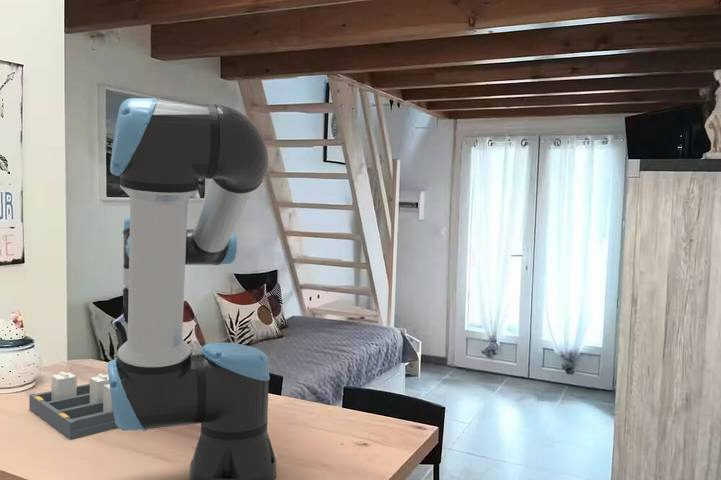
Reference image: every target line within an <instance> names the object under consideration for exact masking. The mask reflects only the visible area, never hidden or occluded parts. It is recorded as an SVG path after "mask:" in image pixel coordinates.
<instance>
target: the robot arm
mask: <svg viewBox="0 0 721 480" xmlns="http://www.w3.org/2000/svg"><path fill="white" fill-rule="evenodd" d="M116 117H117V118H116V123H115V129H114V133H113V141H112V148H111V158H110V165H109V167H110V168H109V171H110V173H111V175H114V176H116V177H119V188H121V190H122V191H124V192H125V194H126V195H127V196H129V203H130V204H129V206H130V208H129V217H126V218H125V219H124V221H123V231H122V234H123V245H122V247H123V268H122V270H123V271H122V272H123V274H122V275H123V277H122V283H123V285H122V286H124V287H123V289H122V306H123V308H122V310H121V314H120V316H118V317H117V318H116V319H112V320H111V321H110V325H111V326H112V328H113V329H114V330H115V335H116V339H117V344H118V347H119V348H118V349H117V355H116V356H117V359H113V360H110V361H108V363H107V373H108V374H107V375H109V382H110V391H111V400H112V407H113V413H114V419H115V423H116V425H117V427H118V428H117V429H120V430H121V431H124V432H125V431H127V432H128V431H143V432H144V431H148V430H151V429H152V430H153V429H161V428H169V427H179V426H186V425H195V424H196V425H197V424H200V436H199V438H198V441H197V444H196V447H195V450H194V454H193V457H192V459H191V462H190V465H189V480H272V479H273V478H274V477H275V478H276V475H277V459H276V456H275V452H274V449H273V446H272V442H271V440H270V436H269V433H268V412H269V381H270V380H271V377H270V371H269V370H270V367H269V358H268V356H267V354H266V353H265V352H264V351H262V350H260V349H259V348H256V347H253V346H249V345H246V344H243V343H242V344H240V343H233V342H212V343H205V344H204V345H203V346H202V348H201V350H200V353H201V354H192V347H191V346H190V344H188V343H187V342H186V341H185V340H184V339H183V326H184V303H185V299H184V298H185V283H186V282H185V278H186V277H185V275H186V265H187V266H189V265H191V266H194V265H195V266H196V265H197V266H198V265H199V266H200V265H201V266H202V265H205V266H206V265H207V266H208V265H209V266H219V265H229V264H233V263H234V261H236V256H237V252H238V242H237V236H236V232H235V230H236V227H237V225H238V223H239V220H240V218H241V215H242V213H243V212H244V209H245V207H246V204H247V202H248V201H249V198H250V196H251V193H252V192H254V191H256V190H257V189H258V188H259V187H260V186H261V185H262V183H263V181H264V179H265V178H266V177H265V176H266V174H267V172H268V166H269V152H268V148H267V144H266V141H265V139H264V137H263V135H262V133H261V132H260V130H259V128H258V127H257V126H256V124H255V123H254V122H253V121H252V120H251V119H250V118H249V117H247V115H245V114H243V113H242V112H241V111H239V110H236V109H235V108H233V107H230V106H228V105H223V104H208V103H198V102H189V101H188V102H187V101H179V100H168V99H159V98H156V97H153V98H148V97H147V98H144V97H141V98H139V97H138V98H137V97H132V98H131V97H130V98H127V99H125V100H124V101H122V103H120V106H119V109H118V113H117V116H116ZM201 179H208V180H209V181H208V185H207V188H206V191H205V194H204V197H203V200H202V203H201V207H200V211H199V213H198V216H197V219H196V224H195V225H194V229H193V228H192V229H187V227H188V225H187V224H188V206H189V205H188V203H189V200H190V199H191V198H192V197H193V196H194V195H196V194H197V193H198V191H199V183H200V182H199V181H200V180H201ZM126 324H127V331H126V329H125V327H126ZM275 478H274V479H275ZM274 479H273V480H274Z"/></svg>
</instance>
